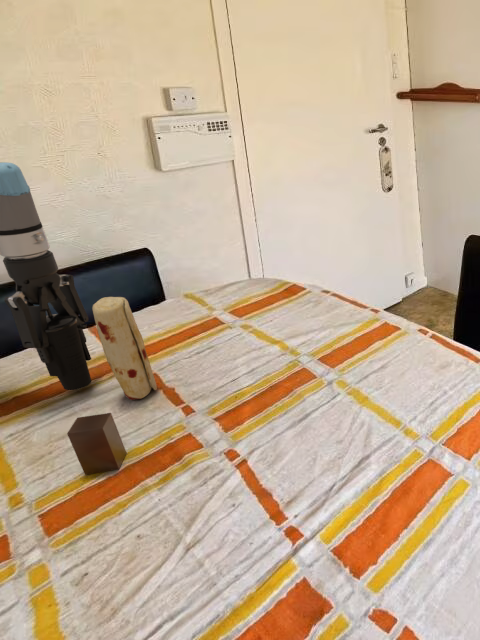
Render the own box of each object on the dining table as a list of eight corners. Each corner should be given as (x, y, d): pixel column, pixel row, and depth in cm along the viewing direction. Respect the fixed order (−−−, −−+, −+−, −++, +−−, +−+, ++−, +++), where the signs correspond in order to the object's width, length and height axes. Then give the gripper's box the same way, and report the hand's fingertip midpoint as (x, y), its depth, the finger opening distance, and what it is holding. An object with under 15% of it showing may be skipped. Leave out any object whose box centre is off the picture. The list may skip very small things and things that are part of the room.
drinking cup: (101, 386, 125) (65, 292, 115) (56, 397, 121) (14, 301, 111) (98, 372, 130) (63, 280, 120) (55, 382, 126) (15, 289, 117)
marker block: (84, 475, 100) (66, 433, 97) (94, 458, 105) (76, 417, 101) (119, 469, 102) (102, 428, 98) (126, 452, 106) (111, 412, 102)
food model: (125, 386, 127) (91, 293, 118) (161, 379, 130) (130, 288, 120) (119, 408, 119) (82, 310, 110) (158, 400, 122) (125, 304, 112)
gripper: (0, 271, 104) (50, 391, 115) (84, 239, 121) (121, 347, 132) (-40, 269, 105) (14, 389, 116) (49, 238, 121) (89, 346, 132)
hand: (71, 367), depth 124 cm, fingers closed on drinking cup, 6 cm apart
